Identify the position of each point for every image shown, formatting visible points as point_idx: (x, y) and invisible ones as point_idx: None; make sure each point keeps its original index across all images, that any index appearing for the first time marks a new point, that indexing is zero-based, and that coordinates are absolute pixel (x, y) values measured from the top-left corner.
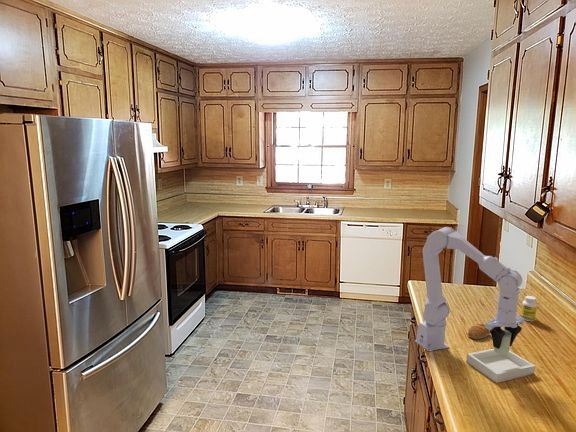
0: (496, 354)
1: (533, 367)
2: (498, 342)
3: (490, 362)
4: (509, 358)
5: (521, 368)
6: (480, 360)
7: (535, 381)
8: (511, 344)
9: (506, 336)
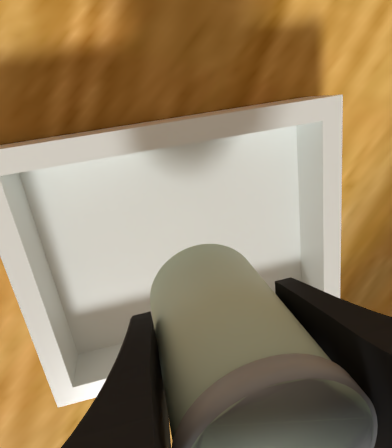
0: None
1: None
2: (349, 306)
3: None
4: (63, 314)
5: (116, 135)
6: None
7: (41, 61)
8: (139, 323)
9: (311, 360)
